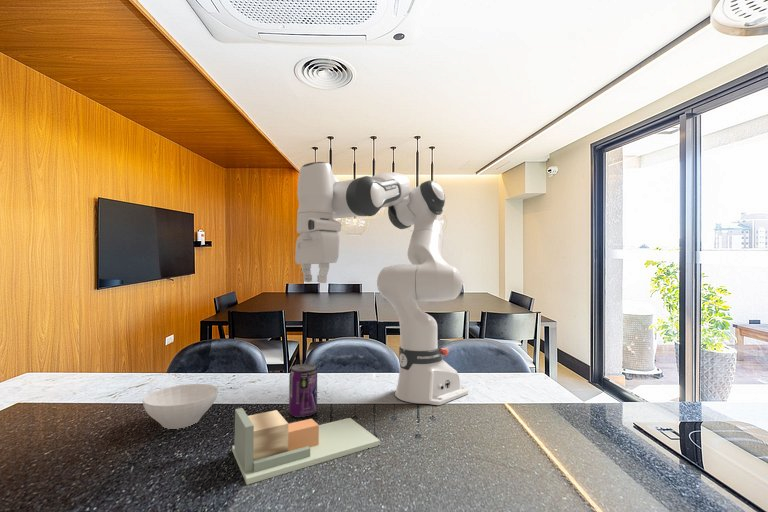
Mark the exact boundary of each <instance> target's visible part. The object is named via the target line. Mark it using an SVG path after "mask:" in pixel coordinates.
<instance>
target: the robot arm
mask: <svg viewBox="0 0 768 512" xmlns="http://www.w3.org/2000/svg"><path fill="white" fill-rule="evenodd" d="M332 169H333V168H332V165H331V164H330V163H328V162H325V161H317V162H315V161H314V162H309V163H308V162H307V163H305V164H303V165H302V166H301V167H300V170H299V172H298V178H297V193H296V194H297V196H296V197H297V200H298V209H297V212H296V214H297V216H296V217H297V218H296V233H297V234H299V236H297V238H296V242H295V252H294V253H295V254H294V259H295V260H294V261H295V264H296V265H301V272H302V275H303V279H302V281H303V282H304V283H311V282H312V281H313V275H312V272H311V271H312V270H311V269H312V265H318V269H319V270H318V275H317V279H316V281H317V283H319V284H326V283H327V282H328V281H327V279H328V273H329V269H330V264H334V263H335V264H336V263H337V262H338V260H339V255H340V234H339V232H341V230H342V224H341V222H340V221H337V220H336V219H344V218H345V219H347V218H354V217H355V218H357V217H373V216H375V215H376V214H378V213H379V212H380V210H381V209H382V208H387V214H388V218H389V221H390V223H391V224H392V225H393V226H394V227H395V228H397V229H399V230H405V229H408V228H411V226H413V230H412V234H411V237H410V241H409V245H408V249H407V258H408V260H409V262H410V264H394V265H390V266H386V267H383V268H382V269H381V270H380V272H379V273H378V275H377V280H376V285H377V286H376V287H377V290H378V292H379V294H380V295H381V296H382V298H384V299H385V300H386V301H387V302H388V303H389V304H390V305H391V306H392V308H393V309H394V312H395V313H396V315H397V319H398V322H399V323H398V324H399V332H400V335H399V336H400V338H399V339H400V346H399V348H398V349H399V350H398V362H399V371H398V372H399V373H398V379H397V385H396V390H395V392H394V396H395V397H396V398H397V399H398V400H400V401H404V402H406V403H413V404H423V405H425V404H426V405H427V404H428V405H435V406H441V405H444V404H446V403H449V402H450V401H451V402H452V401H453V400H456V399H459V398H462V397H463V396H465V395H468V394H469V390H468V389H467V387H465V386H463V385H461V381H460V375H459V373H458V371H457V370H456V369H454V368H453V367H452V366H451V365H450V364H448V362H446V361H445V360H444V359H443V355H444V356H445V357H447V356H448V355H449V353H450V352H449V349H447V348H444V347H442V348H440V347H438V344H439V343H438V323H437V320H436V319H435V318H434V317H433V316H432V315H430V314H428V313H427V312H426V311H425V312H424V310H421V308H420V307H419V305H418V302H446V301H451V300H455V299H457V298H458V296H459V295H460V294H461V292H462V289H463V284H464V283H463V282H464V281H463V275H462V274H461V272H460V271H459V269H458V268H457V267H456V266H453V265H451V264H449V263H448V262H446V260H445V259H444V258H443V244H444V231H443V230H444V229H443V225H442V222H441V221H440V220H439V219H438V216H439V215H442V213H443V212H444V209H443V208H444V207H445V203H446V194H445V191H444V190H443V188H442V187H441V185H440V184H439V183H438V182H437V181H435V180H431V179H430V180H427V181H426V180H425V181H423V182H422V183H421V184H420V185H418V186H416V187H414V188H413V189H412V182H411V180H410V179H409V177H408V176H407V175H406V174H403V173H401V172H394V171H389V172H381V173H378V174H375V175H372V176H369V175H368V176H367V175H366V176H361V177H358V178H354V179H353V178H352V179H348V180H343V181H341V180H339V179H338V178H337V177H336V176H335V175H334V173H333V170H332Z"/></svg>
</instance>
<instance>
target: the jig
mask: <svg viewBox="0 0 768 512" xmlns="http://www.w3.org/2000/svg"><path fill="white" fill-rule="evenodd" d="M248 416H249V415H248V414H247V413H246V411H245V410H244V408H243V407H239V408H235V409H234V445H232V446H231V447H232V448H231V451H232V453H233V454H232V455H233V456H234V459H235V460H236V463H237V465H238V467H239V470H240V472H241V475H242V478H243V479H244V482H245V484H246V486H247V485H251V484H254V483H258V482H261V481H265V480H267V479H271V478H274V477H278V476H282V475H285V474H287V473H291V472H294V471H297V470H301V469H304V468H308V467H312V466H314V465H319V464H322V463H324V462H328V461H332V460H335V459H339V458H341V457H344V456H348V455H352V454H355V453H358V452H362V451H365V450H369V449H371V448H375V447H378V445H379V446H381V440H380V439H379V438H377V437H376V436H375V435H374V434H373V433H371V432H370V431H368V430H367V429H366V428H364V427H363V426H361V425H360V424H359V423H357V422H356V421H355V420H354V419H352V418H351V417H349V418H344V419H339V420H335V421H331V422H326V423H323V424H318V425H319V445H316V446H313V447H309V446H307V447H303V448H299V449H295V450H292V451H288V452H284V453H280V454H277V455H273V456H269V457H265V458H262V459H258V460H254V461H253V440H254V425H253V424H252V422H251V420H250V419H249V417H248ZM368 448H369V449H368Z"/></svg>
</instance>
